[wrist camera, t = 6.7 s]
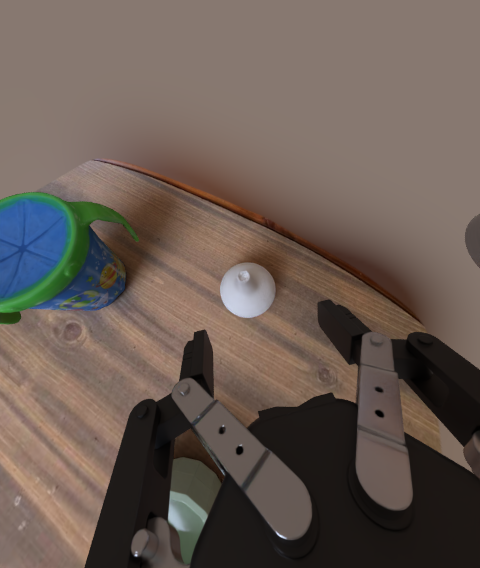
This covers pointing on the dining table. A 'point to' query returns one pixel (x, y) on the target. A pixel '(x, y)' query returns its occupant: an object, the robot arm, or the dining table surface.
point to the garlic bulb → (247, 290)
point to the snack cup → (55, 256)
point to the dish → (191, 501)
